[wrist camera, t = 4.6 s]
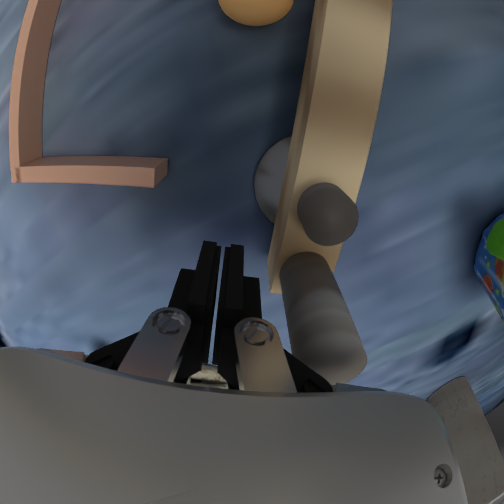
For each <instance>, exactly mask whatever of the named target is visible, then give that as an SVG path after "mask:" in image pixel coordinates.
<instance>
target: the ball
mask: <svg viewBox="0 0 504 504" xmlns="http://www.w3.org/2000/svg"><path fill="white" fill-rule="evenodd" d="M218 1H219V4H220V7H221V9H222V10H223V12H224V13H225V14H226V15H227V16H228V17H230V18H231V19H232V20H234V21H236V22H238V23H241V24H244V25H249V26H264V25H269V24H272V23H274V22H276V21H278V20H280V19H282V18H283V17H284V16H285V15H286V14H287V13H288V12H289V11H290V9H291V7H292V5H293V1H294V0H218Z"/></svg>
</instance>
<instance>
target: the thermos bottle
mask: <svg viewBox="0 0 504 504" xmlns="http://www.w3.org/2000/svg"><path fill="white" fill-rule="evenodd" d="M427 402H428V403H429V404H431V405H432V407H433V408H434V409H435V410H436V412H437V413H438V415H439V417H440V419H441V420H442V422H443V424H444V426H445V429H446V431H447V433H448V436H449V438H450V441H451V444H452V446H453V449H454V452H455V455H456V458H457V461H458V465H459V468H460V472H461V475H462V479H463V483H464V487H465V492H466V496H467V501H468V504H504V463H503V460H502V458H501V455H500V452H499V449H498V446H497V444H496V441H495V439H494V436H493V434H492V431H491V429H490V427H489V425H488V423H487V421H486V419H485V416H484V414H483V412H482V409H481V407H480V405H479V402H478V400H477V398H476V396H475V394H474V392H473V390H472V388H471V386H470V384H469V383H468V381H467V379H466V377H459V378H456V379H454V380H452V381H450V382H448V383H447V384H445V385H444V386H442V387H441V388H439V389H438V390H437V391H435V392H434V393H433V394H432V395H431V396H430V397H429V398H428V400H427Z"/></svg>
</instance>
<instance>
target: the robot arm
mask: <svg viewBox="0 0 504 504" xmlns="http://www.w3.org/2000/svg"><path fill="white" fill-rule="evenodd" d="M216 245H217V242H211V241H204V242H203V245H202V249H201V252H200V256H199V259H198V263H197V267H196V270H190V269H181V270H180V273H179V276H178V278H177V281H176V284H175V287H174V290H173V293H172V296H171V299H170V302H169V305H168V307H164V308H160V309H157V310H155V311H154V312H152V313H151V314H150V316H149V317H148V319H147V320H146V322H145V324H144V325H143V327H142V329H141V330H140V331H139V332H137V333H135V334H133V335H130V336H128V337H126V338H124V339H121V340H119V341H117V342H114V343H112V344H110V345H107V346H105V347H103V348H100V349H98V350H96V351H94V352H92V353H91V354H90V355H85V354H84V352H74V351H62V350H51V349H42V348H40V349H34V348H27V347H3V348H0V504H468V501H467V496H466V492H465V487H464V483H463V479H462V475H461V472H460V468H459V465H458V461H457V458H456V455H455V452H454V449H453V446H452V444H451V441H450V438H449V436H448V433H447V431H446V429H445V426H444V424H443V422H442V420H441V419H440V417H439V415H438V413H437V412H436V410H435V409H434V408H433V407H432V405H431V404H429V403H428V402H427V401H425V400H423V399H421V398H419V397H416V396H412V395H408V394H404V393H398V392H390V391H386V390H383V389H377V388H369V387H362V386H355V385H348V384H342V383H336V384H335V385H331V384H330V383H329V382H328V381H327V380H326V379H325V378H323V377H322V376H321V375H319V374H318V373H316V372H315V371H314V370H312V369H311V368H309V367H308V366H307V365H305V364H304V363H302V362H301V361H300V360H298V359H297V358H296V357H294V356H293V355H292V354H290V353H289V352H287V351H286V350H285V349H283V347H282V344H281V341H280V337H279V334H278V332H277V330H276V328H275V327H274V326H273V325H272V324H271V323H270V322H268V321H266V320H264V319H262V313H261V298H260V284H259V278H254V277H246V276H243V267H244V246H242V245H235V244H231V247H225V254H224V261H223V269H222V277H221V285H220V293H219V302H218V311H217V320H216V330H215V340H214V351H213V361H212V364H214V365H218V368H217V373H218V374H219V375H221V376H222V377H223V378H224V379H225V380H226V389H221V388H212V387H204V386H196V385H189V384H190V381H191V376H192V375H194V374H195V373H197V372H199V371H201V370H202V363H206V364H208V357H209V348H210V340H211V332H212V324H213V316H214V308H215V300H216V290H217V281H218V272H219V262H220V254H221V246H216Z"/></svg>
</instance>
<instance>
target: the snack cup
mask: <svg viewBox="0 0 504 504" xmlns="http://www.w3.org/2000/svg"><path fill="white" fill-rule="evenodd" d="M474 271H475V273H476V275H477V278H478V279H479V281H480V283H481V285H482V286H483V288H484V290H485V291H486V293H487V295H488V296H489V298H490V299H491V301H492V303H493V305H494V306H495V308H496V310H497V312H498V313H499V315H500V317H501V318H502V320H503V322H504V213H502V214H500V215H499V216H498V217H497V218H495V220H494V221H493V222H492V223H491V224H490V225H489V226H488V228H486V229H485V230H484V232H483V235H482V239H481V241H480V244H479V246H478V249H477V254H476V258H475V264H474Z"/></svg>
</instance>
